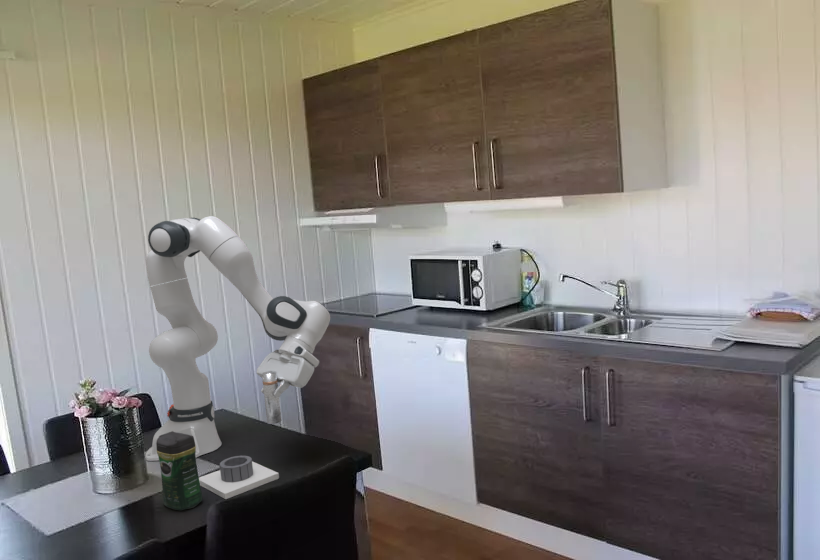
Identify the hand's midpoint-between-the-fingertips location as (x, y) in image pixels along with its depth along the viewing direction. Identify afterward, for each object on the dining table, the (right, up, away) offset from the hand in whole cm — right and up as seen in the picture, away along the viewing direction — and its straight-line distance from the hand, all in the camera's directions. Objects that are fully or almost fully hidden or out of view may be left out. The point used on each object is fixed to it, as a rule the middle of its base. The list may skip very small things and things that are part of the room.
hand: (269, 395), depth 195 cm
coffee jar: (-19, -25, -17) cm, 35 cm away
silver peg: (+1, -8, +1) cm, 8 cm away
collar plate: (-8, -23, -5) cm, 24 cm away
